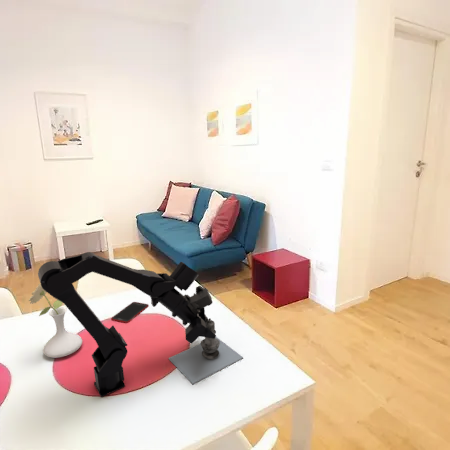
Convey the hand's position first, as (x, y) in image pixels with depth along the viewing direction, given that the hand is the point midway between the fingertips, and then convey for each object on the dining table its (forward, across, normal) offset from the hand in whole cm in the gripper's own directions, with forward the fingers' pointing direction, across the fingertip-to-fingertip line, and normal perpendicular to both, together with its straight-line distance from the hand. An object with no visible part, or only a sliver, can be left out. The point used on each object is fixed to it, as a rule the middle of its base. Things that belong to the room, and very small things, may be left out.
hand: (214, 333), depth 100 cm
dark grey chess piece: (+4, 0, +6) cm, 7 cm away
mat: (+4, -1, +8) cm, 8 cm away
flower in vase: (-28, +10, +40) cm, 50 cm away
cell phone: (-15, +32, +27) cm, 45 cm away
